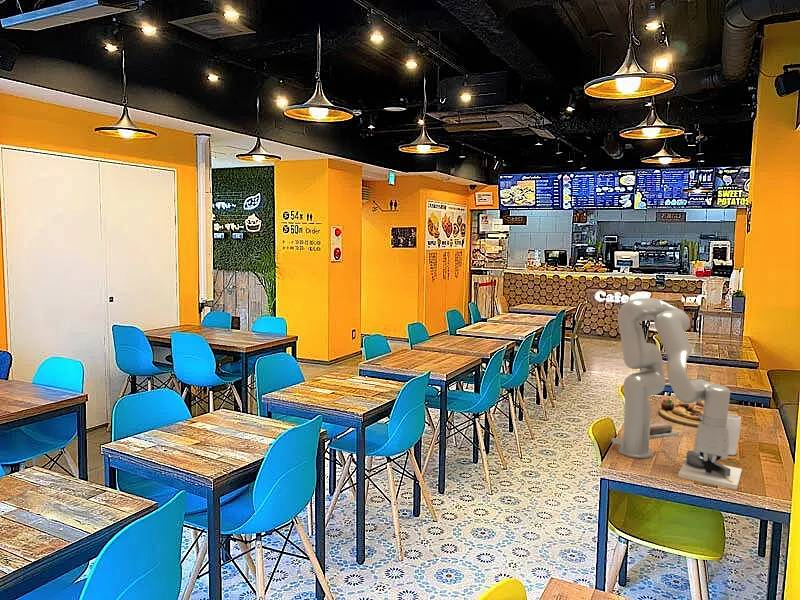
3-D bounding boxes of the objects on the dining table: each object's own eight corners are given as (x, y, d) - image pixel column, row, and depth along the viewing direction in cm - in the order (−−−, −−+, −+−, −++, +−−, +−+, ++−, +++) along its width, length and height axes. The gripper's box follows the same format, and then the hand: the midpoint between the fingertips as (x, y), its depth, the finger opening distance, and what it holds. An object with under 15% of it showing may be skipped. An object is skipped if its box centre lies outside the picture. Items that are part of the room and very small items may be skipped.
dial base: (676, 476, 211) (677, 471, 211) (685, 461, 226) (685, 456, 226) (736, 489, 201) (737, 484, 201) (741, 472, 216) (742, 467, 216)
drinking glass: (720, 449, 240) (723, 412, 239) (740, 453, 236) (743, 415, 234) (716, 453, 235) (719, 416, 233) (736, 457, 231) (739, 419, 229)
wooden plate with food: (646, 417, 283) (647, 400, 282) (675, 404, 305) (676, 388, 304) (718, 435, 260) (720, 417, 259) (744, 421, 281) (746, 404, 280)
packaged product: (645, 429, 249) (628, 422, 258) (644, 441, 249) (627, 433, 259) (678, 425, 255) (661, 419, 265) (678, 436, 256) (660, 429, 265)
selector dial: (680, 460, 222) (681, 451, 221) (701, 458, 224) (701, 449, 224) (716, 479, 205) (717, 469, 204) (738, 477, 207) (739, 467, 207)
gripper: (688, 419, 209) (683, 469, 211) (737, 428, 200) (731, 481, 203) (692, 413, 215) (687, 462, 217) (740, 423, 207) (733, 473, 209)
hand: (708, 471), depth 210 cm, fingers closed
